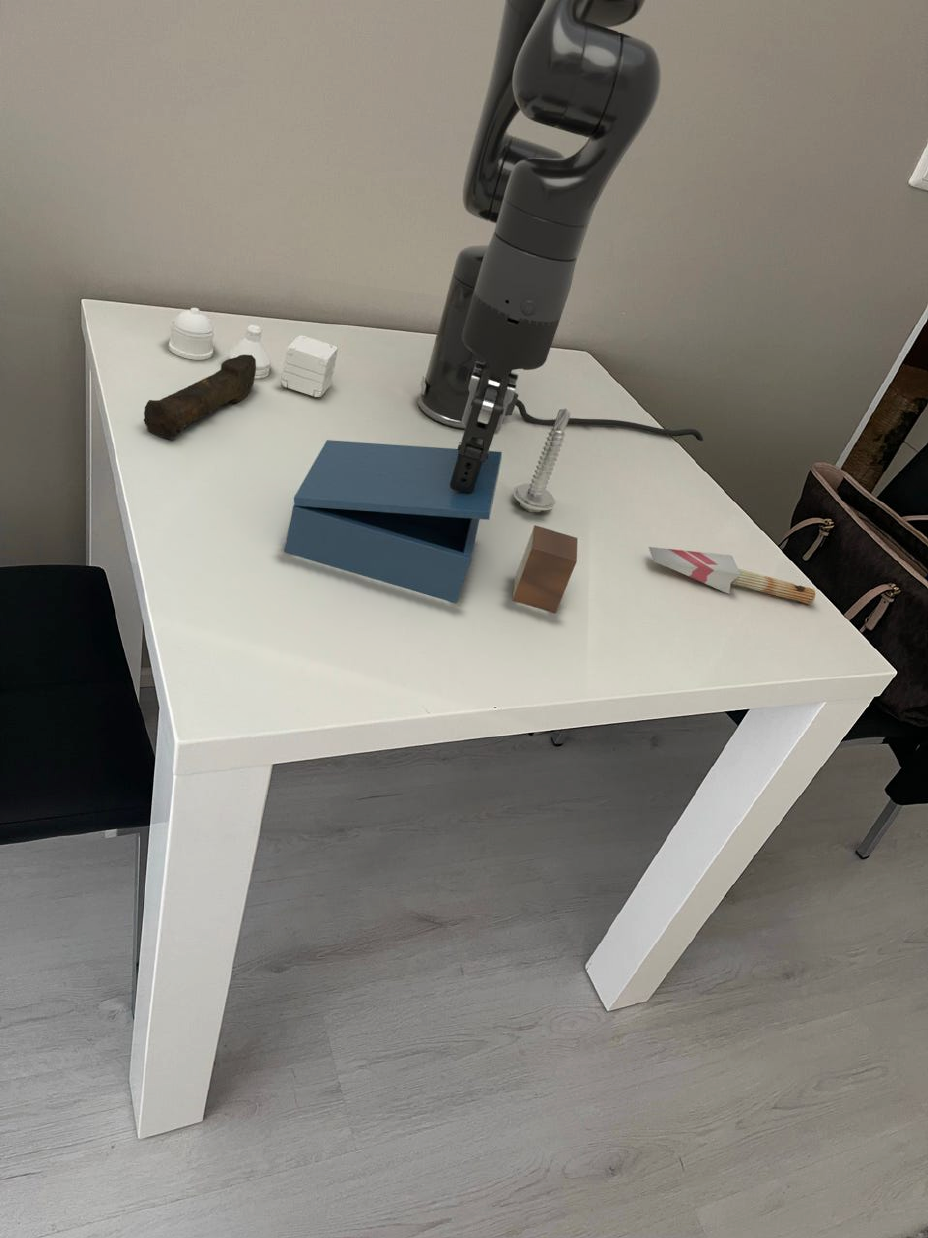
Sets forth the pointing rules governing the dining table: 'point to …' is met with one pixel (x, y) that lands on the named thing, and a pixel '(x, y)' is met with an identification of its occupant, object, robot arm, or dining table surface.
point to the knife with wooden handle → (727, 573)
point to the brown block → (545, 569)
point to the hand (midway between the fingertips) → (464, 475)
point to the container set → (259, 352)
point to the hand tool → (201, 397)
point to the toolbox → (387, 546)
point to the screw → (544, 470)
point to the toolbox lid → (396, 480)
